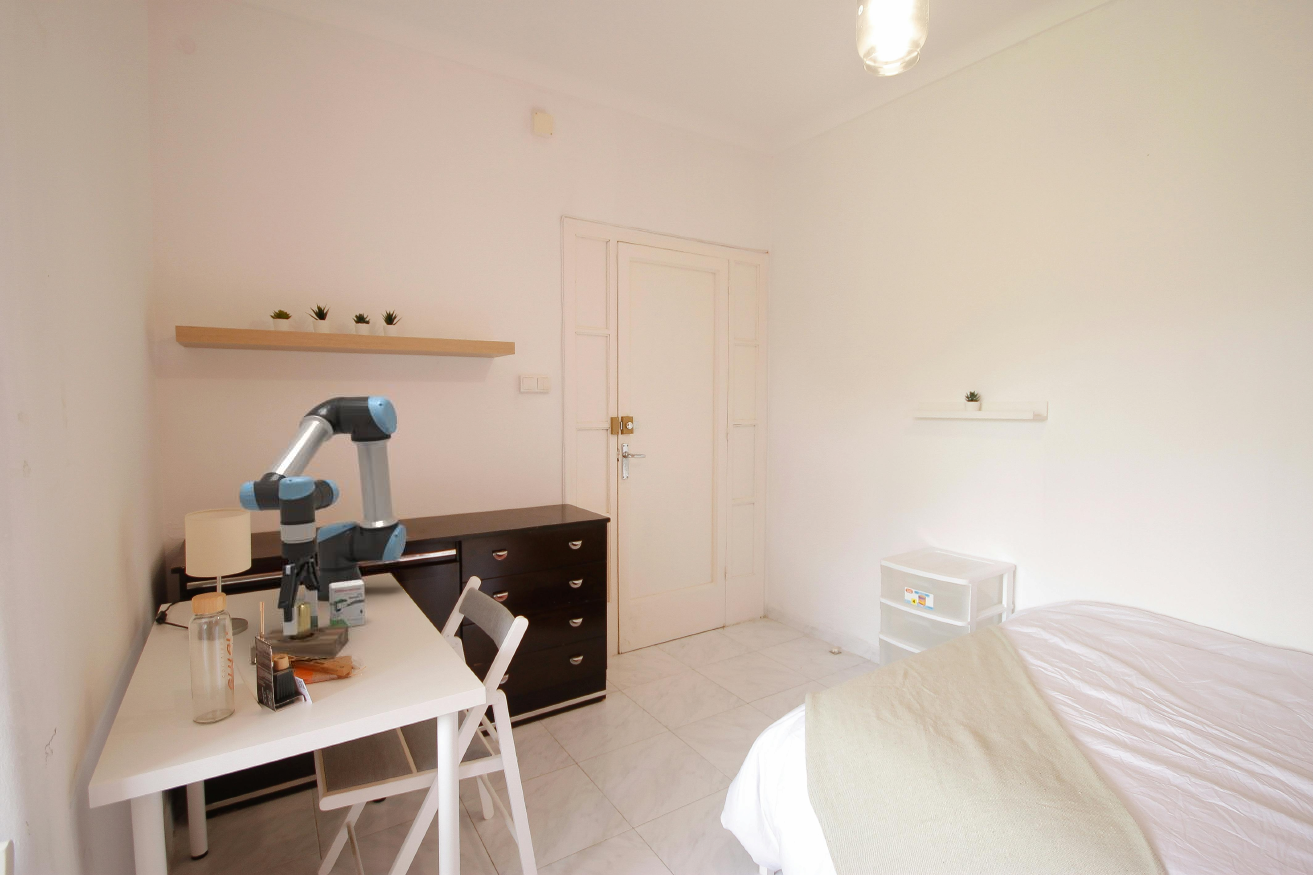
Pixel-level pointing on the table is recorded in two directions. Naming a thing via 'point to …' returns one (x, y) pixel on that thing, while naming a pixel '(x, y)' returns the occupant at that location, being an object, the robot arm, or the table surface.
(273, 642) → the bore block
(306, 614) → the cylinder
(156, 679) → the table surface
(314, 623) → the square bit
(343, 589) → the ink box
